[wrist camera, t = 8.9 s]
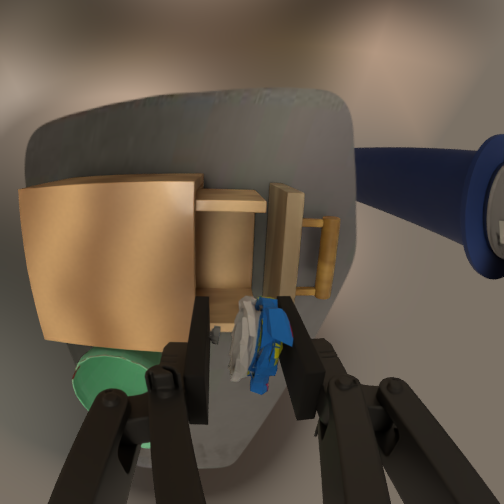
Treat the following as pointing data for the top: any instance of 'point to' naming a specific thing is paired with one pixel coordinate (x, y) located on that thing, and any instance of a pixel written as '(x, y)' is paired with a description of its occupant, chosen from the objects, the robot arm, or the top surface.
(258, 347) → the toy
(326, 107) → the top surface
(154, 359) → the mug
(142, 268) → the cabinet
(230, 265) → the drawer
